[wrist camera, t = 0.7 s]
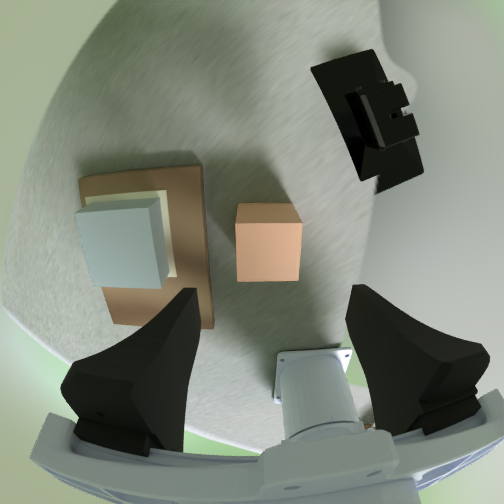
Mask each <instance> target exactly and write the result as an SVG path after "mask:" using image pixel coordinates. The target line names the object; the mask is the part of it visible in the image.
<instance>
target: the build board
mask: <svg viewBox="0 0 504 504" xmlns="http://www.w3.org/2000/svg"><path fill="white" fill-rule="evenodd" d="M78 183H79V190H80V196H81V202H82V208H84V207H85V206H87V205H88V204H90V203H96V202H107V201H118V200H130V199H144V198H160V202H161V211H162V220H163V228H164V236H165V243H166V250H167V257H168V263H169V269H170V272H169V274H168V277H167V279H166V281H165V283H164V285H163V287H162V289H147V288H118V287H102V290H103V293H104V297H105V300H106V303H107V306H108V309H109V312H110V315H111V317H112V320H113V323H114V324H121V325H133V326H144V325H145V324H147V323H148V322H149V321H150V320H151V319H152V318H154V317H155V316H156V315H157V314H158V313H159V312H160V311H161V310H162V309H163V308H164V307H165V306H166V305H167V304H168V303H169V302H170V301H171V300H172V299H173V298H174V297H175V296H176V295H177V294H178V293H179V292H180V291H181V290H182V289H183V288H184V287H185V288H197V294H198V302H199V309H200V316H201V329H213V328H214V322H215V319H214V310H213V301H212V291H211V280H210V269H209V258H208V245H207V232H206V218H205V202H204V185H203V165H185V166H171V167H159V168H148V169H138V170H129V171H120V172H112V173H105V174H98V175H91V176H85V177H83V178H80V179H78Z"/></svg>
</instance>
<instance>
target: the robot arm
mask: <svg viewBox="0 0 504 504" xmlns="http://www.w3.org/2000/svg"><path fill="white" fill-rule="evenodd" d="M345 320H346V324H347V329H348V332H349V336H350V339H351V341H352V344H353V346H354V349H355V351H356V353H357V356H358V358H359V361H360V363H361V366H362V368H363V371H364V374H365V377H366V380H367V384H368V388H369V392H370V397H371V402H372V407H373V413H374V419H375V427H376V430H374V429H373V428H368V429H366V430H365V428H364V424H363V421H359V417H358V414H357V411H356V407H355V404H354V401H353V397H352V394H351V391H350V388H349V384H348V381H347V378H346V375H345V372H346V370H347V367H348V363H349V361H350V358H351V354H352V348H351V347H344V348H333V349H321V350H306V351H287V352H280V353H278V355H277V367H276V379H275V390H274V403H275V404H282V409H283V420H284V430H285V440H282V441H281V444H279V445H276V446H273V447H271V448H268V449H266V450H265V451H263V453H262V454H261V455H260V456H218V455H203V454H192V453H183V440H184V423H185V411H186V401H187V392H188V385H189V380H190V376H191V372H192V368H193V364H194V360H195V356H196V352H197V348H198V344H199V339H200V331H201V316H200V309H199V302H198V294H197V288H185V287H184V288H183V289H182V290H181V291H180V292H179V293H178V294H177V295H176V296H175V297H174V298H173V299H172V300H171V301H170V302H169V303H168V304H167V305H166V306H165V307H164V308H163V309H162V310H161V311H160V312H159V313H158V314H157V315H156V316H155V317H154V318H152V319H151V320H150V321H149V322H148V323H147V324H145V325H144V326H143V327H142V328H140V329H139V330H138V331H136V332H135V333H133V334H132V335H130V336H129V337H127V338H126V339H124V340H122V341H121V342H119V343H117V344H116V345H114V346H112V347H110V348H108V349H106V350H104V351H101V352H99V353H97V354H95V355H92V356H89V357H87V358H84V359H81V360H78V361H75V362H73V364H72V366H71V367H70V369H69V371H68V373H67V375H66V377H65V379H64V380H63V382H62V384H61V388H60V389H61V393H62V395H63V397H64V399H65V400H66V402H67V403H68V404H69V406H70V407H71V408H72V409H73V411H74V412H75V413H76V414H77V416H78V417H79V419H78V421H77V424H76V423H75V422H73V421H72V420H70V419H67V418H65V417H62V416H59V415H56V414H53V413H49V414H48V416H47V418H46V420H45V422H44V424H43V426H42V429H41V431H40V433H39V435H38V438H37V440H36V443H35V445H34V447H33V450H32V452H31V455H30V459H31V460H32V461H33V462H34V463H36V464H37V465H38V466H40V467H41V468H42V469H44V470H45V471H47V472H48V473H49V474H51V475H52V476H54V477H55V478H57V479H58V480H60V481H61V482H63V483H65V484H67V485H70V486H72V487H74V488H76V489H79V490H81V491H84V492H86V493H88V494H91V495H94V496H96V497H99V498H102V499H104V500H107V501H110V502H113V503H116V504H421V502H420V498H419V495H418V491H421V490H423V489H425V488H427V487H429V486H431V485H433V484H435V483H437V482H440V481H441V480H443V479H445V478H447V477H449V476H451V475H453V474H455V473H456V472H458V471H460V470H462V469H464V468H465V467H467V466H469V465H470V464H472V463H474V462H475V461H477V460H479V459H480V458H482V457H483V456H485V455H487V454H488V453H489V452H490V451H492V450H493V449H494V448H495V447H496V446H497V445H498V444H500V443H501V442H502V441H503V440H504V399H503V397H502V396H501V394H500V392H499V391H498V389H495V390H493V391H491V392H489V393H487V394H485V395H483V396H481V397H480V398H479V399H478V400H477V398H476V396H475V395H476V394H477V392H478V390H477V388H476V387H475V385H476V384H477V382H478V381H479V379H480V378H481V377H482V375H483V374H484V372H485V370H486V369H487V367H488V365H489V362H490V356H489V354H488V353H487V351H486V350H485V348H484V347H483V346H482V344H480V343H476V342H471V341H467V340H463V339H459V338H456V337H453V336H450V335H447V334H445V333H442V332H440V331H438V330H435V329H433V328H431V327H429V326H427V325H425V324H423V323H421V322H419V321H417V320H416V319H414V318H412V317H410V316H409V315H408V314H406V313H404V312H403V311H401V310H400V309H399V308H397V307H395V306H394V305H393V304H391V303H390V302H389V301H387V300H386V299H384V298H383V297H382V296H380V295H379V294H378V293H376V292H375V291H374V290H372V289H371V288H369V287H368V286H366V285H364V284H360V285H352V290H351V295H350V300H349V304H348V309H347V313H346V317H345ZM346 354H347V355H346ZM281 359H282V360H281Z"/></svg>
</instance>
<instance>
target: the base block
mask: <svg viewBox="0 0 504 504" xmlns="http://www.w3.org/2000/svg"><path fill="white" fill-rule="evenodd" d="M74 214H75V219H76V224H77V229H78V233H79V237H80V242H81V246H82V250H83V254H84V258H85V261H86V265H87V268H88V272H89V275H90V279H91V282H92V285H93V286H95V287H118V288H147V289H162V287H163V285H164V283H165V281H166V279H167V277H168V274H169V272H170V269H169V263H168V257H167V250H166V243H165V236H164V228H163V220H162V211H161V202H160V198H144V199H130V200H118V201H107V202H96V203H90V204H88V205H87V206H85V207H84V208H82V209H80V210H79V211H77V212H76V213H74Z"/></svg>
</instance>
